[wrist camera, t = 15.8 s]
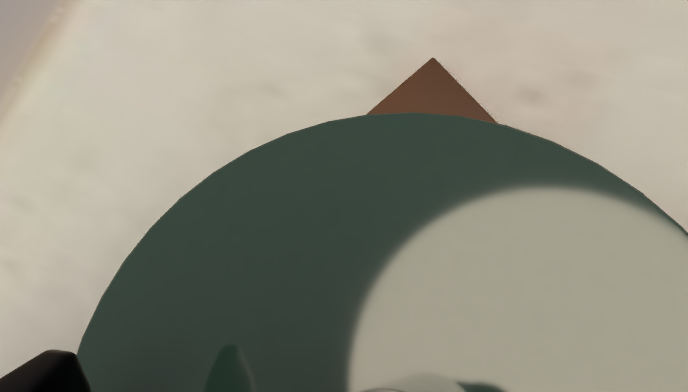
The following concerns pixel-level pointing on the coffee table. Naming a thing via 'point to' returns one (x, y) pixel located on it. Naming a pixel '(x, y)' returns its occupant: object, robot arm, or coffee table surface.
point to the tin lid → (400, 271)
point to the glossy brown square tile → (432, 95)
